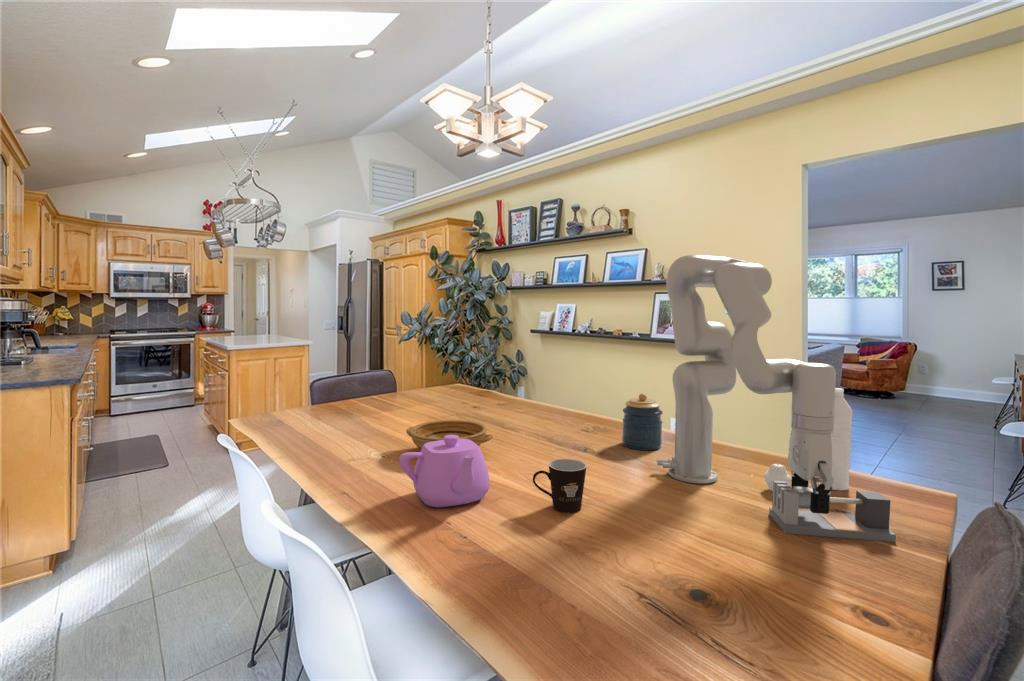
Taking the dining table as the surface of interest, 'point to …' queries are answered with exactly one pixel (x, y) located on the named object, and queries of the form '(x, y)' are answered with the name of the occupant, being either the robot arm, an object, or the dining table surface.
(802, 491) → the sleeve
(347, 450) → the dining table surface
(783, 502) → the board
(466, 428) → the ceramic bowl
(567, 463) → the coffee mug
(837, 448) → the water bottle
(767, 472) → the white rounded ridged piece
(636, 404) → the canister
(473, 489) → the teapot
